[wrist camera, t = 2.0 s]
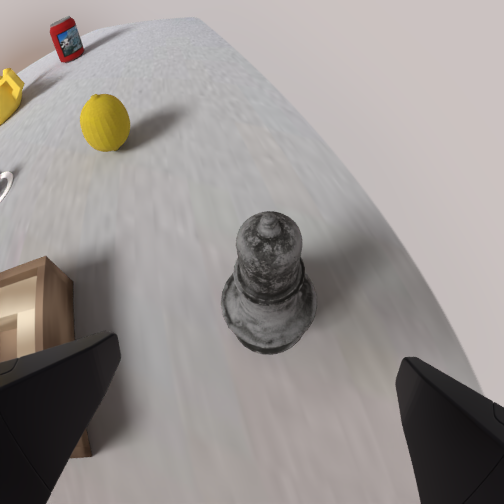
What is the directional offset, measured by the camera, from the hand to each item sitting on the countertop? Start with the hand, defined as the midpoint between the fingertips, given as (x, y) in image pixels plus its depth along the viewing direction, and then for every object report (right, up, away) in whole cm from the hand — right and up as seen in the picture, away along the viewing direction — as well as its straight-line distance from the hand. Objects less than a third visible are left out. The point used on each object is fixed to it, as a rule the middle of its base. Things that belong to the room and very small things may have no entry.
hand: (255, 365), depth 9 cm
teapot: (-56, +35, +38) cm, 76 cm away
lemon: (-16, +15, +24) cm, 33 cm away
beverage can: (-45, +52, +48) cm, 84 cm away
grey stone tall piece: (+1, -1, +13) cm, 13 cm away
